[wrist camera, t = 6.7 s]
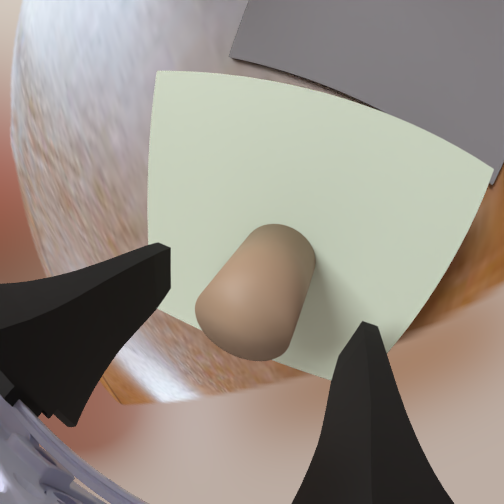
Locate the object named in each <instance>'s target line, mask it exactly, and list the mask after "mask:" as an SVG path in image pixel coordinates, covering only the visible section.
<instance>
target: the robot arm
mask: <svg viewBox="0 0 504 504" xmlns="http://www.w3.org/2000/svg"><path fill="white" fill-rule="evenodd" d="M170 289H171V247H168V246H166V245H163V244H161V243H159V242H157V243H153V244H150V245H147V246H144V247H141V248H139V249H136V250H133V251H131V252H128V253H125V254H122V255H120V256H117V257H114V258H112V259H109V260H106V261H104V262H101V263H98V264H95V265H92V266H89V267H86V268H83V269H80V270H77V271H73V272H70V273H66V274H62V275H58V276H54V277H49V278H44V279H38V280H34V281H27V282H19V283H7V284H0V504H106V503H105V502H103V501H102V500H100V499H98V498H97V497H95V496H94V495H92V494H91V493H89V492H88V491H87V490H85V489H84V488H82V487H81V486H80V485H78V484H77V483H75V482H74V481H73V480H74V479H75V478H74V476H75V477H76V478H77V479H79V480H80V481H81V482H82V483H84V484H85V485H86V486H87V487H89V488H90V489H91V490H93V491H94V492H95V493H97V494H98V495H100V496H101V497H102V498H104V499H105V500H107V501H108V502H110V503H111V504H148V503H147V502H145V501H143V500H141V499H140V498H138V497H136V496H134V495H132V494H131V493H129V492H128V491H126V490H125V489H123V488H122V487H120V486H119V485H117V484H115V483H114V482H112V481H111V480H110V479H108V478H107V477H105V476H104V475H103V474H101V473H100V472H98V471H97V470H96V469H95V468H93V467H92V466H91V465H89V464H88V463H87V462H86V461H84V460H83V459H82V458H81V457H79V456H78V455H77V454H76V453H75V452H73V451H72V450H71V449H70V448H69V447H68V446H66V445H65V444H64V443H63V442H62V441H61V440H60V439H59V438H58V437H57V436H56V435H55V434H53V432H52V431H51V430H49V429H48V428H47V427H46V426H45V424H43V422H42V421H41V420H40V419H39V418H38V416H39V415H40V414H41V413H43V414H44V415H45V416H46V417H47V418H50V417H51V416H52V415H53V414H54V415H55V416H56V417H57V418H58V419H59V420H61V421H62V422H63V423H64V424H65V425H66V426H68V427H74V426H76V425H77V422H78V420H79V418H80V416H81V413H82V411H83V409H84V407H85V405H86V403H87V401H88V399H89V397H90V395H91V394H92V391H93V390H94V388H95V386H96V385H97V383H98V381H99V380H100V378H101V377H102V375H103V373H104V372H105V370H106V369H107V367H108V366H109V364H110V363H111V361H112V360H113V359H114V357H115V356H116V354H117V353H118V352H119V350H120V349H121V348H122V347H123V346H124V344H125V343H126V342H127V341H128V340H129V339H130V338H131V337H132V336H133V334H134V333H135V332H136V331H137V330H138V329H139V328H140V327H141V326H142V325H143V323H144V322H145V321H146V320H147V319H148V318H149V317H150V316H151V315H152V314H153V312H154V311H155V310H156V309H157V308H158V306H159V305H160V304H161V302H162V301H163V299H164V298H165V296H166V295H167V294H168V292H169V291H170ZM39 444H40V445H41V446H42V447H43V448H44V449H45V450H46V451H45V450H44V449H42V448H41V447H39ZM72 474H73V475H74V476H73V475H72ZM292 504H454V502H453V501H452V500H451V498H450V497H449V495H448V494H447V492H446V491H445V490H444V488H443V487H442V485H441V483H440V482H439V480H438V478H437V476H436V475H435V473H434V471H433V469H432V468H431V466H430V464H429V462H428V460H427V458H426V456H425V454H424V452H423V450H422V448H421V446H420V444H419V442H418V439H417V437H416V435H415V432H414V430H413V428H412V425H411V423H410V421H409V418H408V416H407V413H406V410H405V408H404V405H403V402H402V399H401V396H400V394H399V391H398V388H397V385H396V382H395V379H394V375H393V372H392V369H391V366H390V363H389V360H388V357H387V353H386V350H385V347H384V343H383V340H382V337H381V334H380V331H379V328H378V326H376V325H373V324H370V323H367V322H364V321H362V322H361V323H360V325H359V327H358V328H357V330H356V331H355V333H354V334H353V336H352V337H351V339H350V340H349V341H348V343H347V344H346V346H345V347H344V349H343V350H342V351H341V353H340V354H339V356H338V359H337V363H336V366H335V369H334V373H333V377H332V380H331V385H330V391H329V396H328V401H327V406H326V411H325V417H324V421H323V426H322V430H321V434H320V438H319V442H318V445H317V448H316V450H315V453H314V456H313V458H312V461H311V463H310V466H309V469H308V471H307V473H306V475H305V477H304V480H303V482H302V484H301V486H300V488H299V490H298V492H297V494H296V496H295V498H294V500H293V502H292Z"/></svg>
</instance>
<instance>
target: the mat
mask: <svg viewBox="0 0 504 504" xmlns="http://www.w3.org/2000/svg"><path fill="white" fill-rule="evenodd" d="M229 57H231V58H235V59H239V60H244V61H248V62H252V63H256V64H260V65H264V66H268V67H271V68H275V69H278V70H281V71H285V72H288V73H291V74H294V75H297V76H300V77H303V78H306V79H309V80H312V81H314V82H317V83H320V84H322V85H325V86H328V87H330V88H333V89H335V90H337V91H340V92H342V93H345V94H347V95H349V96H351V97H354V98H356V99H358V100H360V101H362V102H365V103H367V104H369V105H371V106H373V107H375V108H377V109H379V110H381V111H383V112H385V113H387V114H389V115H392V116H394V117H397V118H399V119H401V120H404V121H406V122H408V123H411V124H413V125H415V126H417V127H420V128H422V129H424V130H426V131H428V132H430V133H432V134H434V135H436V136H438V137H440V138H442V139H444V140H446V141H448V142H450V143H451V144H453V145H455V146H457V147H459V148H461V149H462V150H464V151H466V152H467V153H469V154H471V155H473V156H474V157H476V158H477V159H479V160H481V161H482V162H484V163H485V164H487V165H488V166H490V167H491V168H493V169H494V171H493V173H492V176H491V179H490V182H489V183H490V184H492V185H493V183H494V181H495V179H496V177H497V175H498V173H499V171H500V169H501V167H502V165H503V162H504V0H249V1H248V4H247V7H246V9H245V12H244V14H243V17H242V20H241V23H240V25H239V28H238V31H237V34H236V37H235V39H234V42H233V45H232V48H231V51H230V54H229Z"/></svg>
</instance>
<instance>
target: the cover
mask: <svg viewBox="0 0 504 504" xmlns="http://www.w3.org/2000/svg"><path fill="white" fill-rule="evenodd" d="M493 171H494V169H493V168H491V167H490V166H488V165H487V164H485V163H484V162H482V161H481V160H479V159H477V158H476V157H474V156H473V155H471V154H469V153H467V152H466V151H464V150H462V149H461V148H459V147H457V146H455V145H453V144H451V143H450V142H448V141H446V140H444V139H442V138H440V137H438V136H436V135H434V134H432V133H430V132H428V131H426V130H424V129H422V128H420V127H417V126H415V125H413V124H411V123H408V122H406V121H404V120H401V119H399V118H397V117H394V116H392V115H389V114H387V113H384V112H381V111H379V110H376V109H373V108H371V107H368V106H365V105H362V104H359V103H356V102H353V101H350V100H347V99H343V98H340V97H337V96H333V95H330V94H326V93H323V92H319V91H315V90H311V89H307V88H303V87H298V86H294V85H289V84H285V83H279V82H274V81H269V80H263V79H257V78H250V77H243V76H236V75H227V74H217V73H205V72H188V71H157V74H156V81H155V89H154V97H153V106H152V117H151V128H150V142H149V161H148V245H150V244H153V243H157V242H159V243H161V244H163V245H166V246H168V247H171V289H170V291H169V292H168V294H167V295H166V296H165V298H164V299H163V301H162V302H161V304H160V305H159V306H158V308H157V309H159V310H161V311H163V312H165V313H167V314H169V315H171V316H173V317H175V318H177V319H179V320H181V321H183V322H185V323H188V324H190V325H192V326H194V327H196V328H198V329H200V330H202V331H203V332H204V333H205V335H206V336H207V337H208V338H209V339H210V340H211V341H212V342H213V343H214V344H216V345H217V346H218V347H220V348H221V349H223V350H224V351H226V352H228V353H230V354H232V355H234V356H237V357H239V358H243V359H246V360H252V361H268V360H274V361H276V362H279V363H282V364H284V365H287V366H290V367H293V368H295V369H298V370H301V371H304V372H307V373H310V374H313V375H316V376H319V377H322V378H325V379H328V380H332V377H333V373H334V369H335V366H336V363H337V359H338V356H339V354H340V353H341V351H342V350H343V349H344V347H345V346H346V344H347V343H348V341H349V340H350V339H351V337H352V336H353V334H354V333H355V331H356V330H357V328H358V327H359V325H360V323H361V322H362V321H364V322H367V323H370V324H373V325H376V326H378V328H379V331H380V334H381V337H382V340H383V343H384V347H385V350H386V353H388V352H389V351H390V349H391V348H392V347H393V346H394V345H395V343H396V342H397V341H398V340H399V338H400V337H401V336H402V334H403V333H404V332H405V331H406V329H407V328H408V327H409V325H410V324H411V323H412V321H413V320H414V319H415V317H416V316H417V314H418V313H419V312H420V310H421V309H422V307H423V306H424V304H425V303H426V302H427V300H428V299H429V297H430V296H431V294H432V293H433V291H434V290H435V288H436V286H437V285H438V283H439V282H440V280H441V278H442V277H443V275H444V274H445V272H446V270H447V269H448V267H449V265H450V263H451V262H452V260H453V258H454V256H455V255H456V253H457V251H458V249H459V247H460V245H461V243H462V242H463V240H464V238H465V236H466V234H467V232H468V230H469V228H470V226H471V224H472V221H473V219H474V217H475V215H476V213H477V211H478V208H479V206H480V204H481V201H482V199H483V197H484V194H485V192H486V189H487V187H488V184H489V182H490V179H491V176H492V173H493Z"/></svg>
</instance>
